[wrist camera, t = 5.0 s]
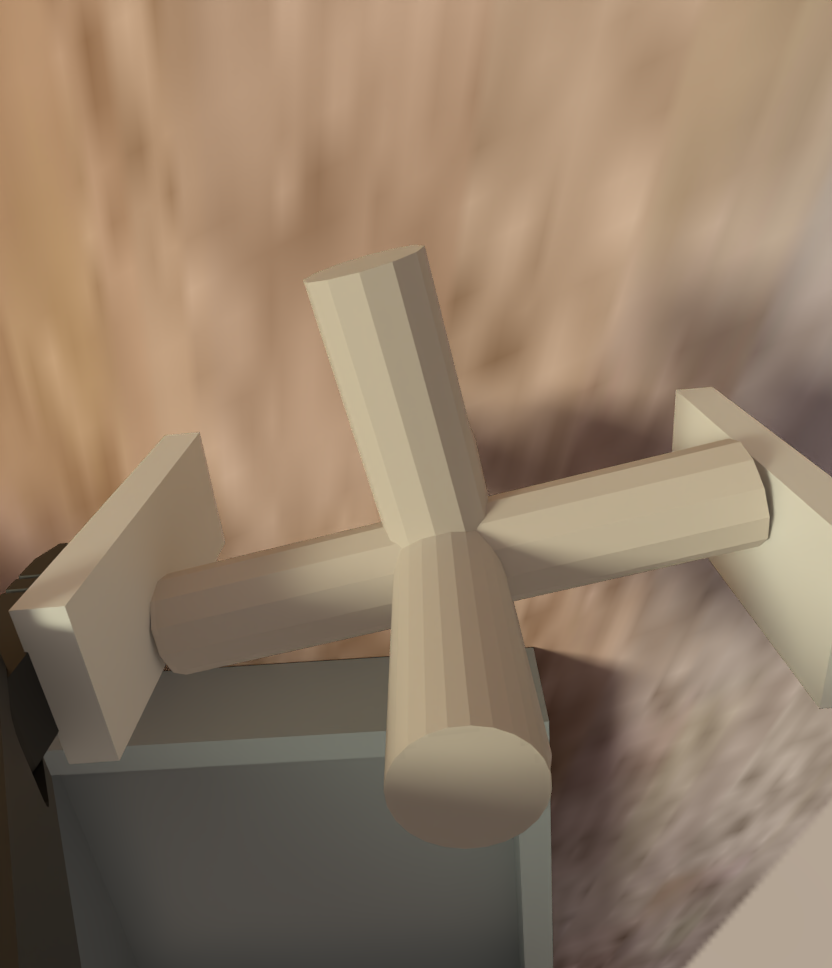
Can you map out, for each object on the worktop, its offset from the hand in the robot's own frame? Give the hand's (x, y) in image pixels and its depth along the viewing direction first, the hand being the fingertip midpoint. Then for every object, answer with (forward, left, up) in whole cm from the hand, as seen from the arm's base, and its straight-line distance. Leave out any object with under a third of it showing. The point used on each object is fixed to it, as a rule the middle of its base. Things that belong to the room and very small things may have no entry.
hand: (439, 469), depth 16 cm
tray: (-7, -18, -5) cm, 20 cm away
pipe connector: (0, 0, -1) cm, 1 cm away
